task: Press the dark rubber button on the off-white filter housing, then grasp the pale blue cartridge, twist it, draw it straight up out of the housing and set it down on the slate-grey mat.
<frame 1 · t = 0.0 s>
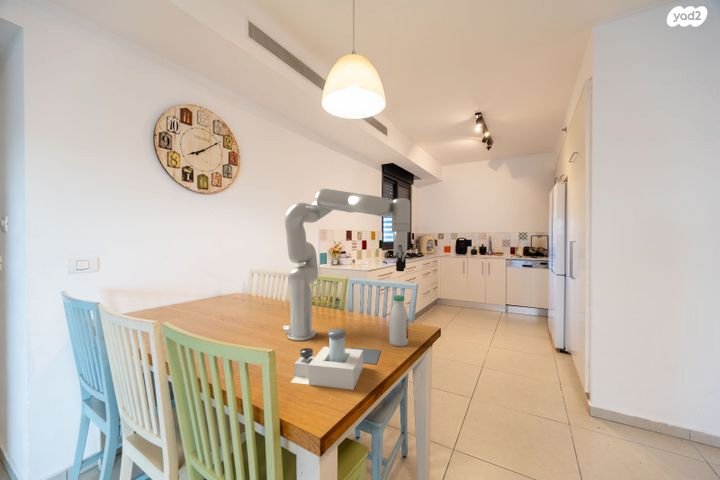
hand: (401, 269, 120), 31 cm above the table, tool pointing down, fingers open, 9 cm apart
cartridge: (337, 375, 92), point 1 cm above the table, touching housing
milk bottle: (398, 343, 121), on the table
mat: (362, 358, 107), on the table
housing: (337, 378, 92), on the table
plunger: (306, 360, 94), point 5 cm above the table, slide at 1.2 cm
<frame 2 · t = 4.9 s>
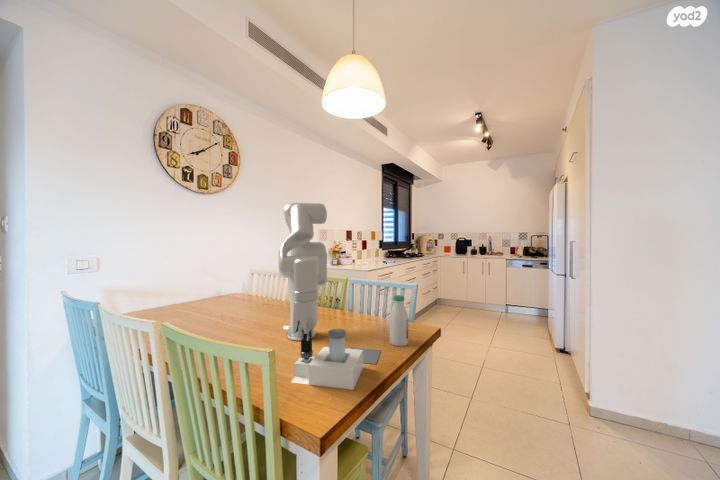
hand: (306, 351, 94), 8 cm above the table, tool pointing down, fingers closed
plunger: (306, 361, 94), point 5 cm above the table, slide at 1.5 cm, touching gripper
everything else where it was.
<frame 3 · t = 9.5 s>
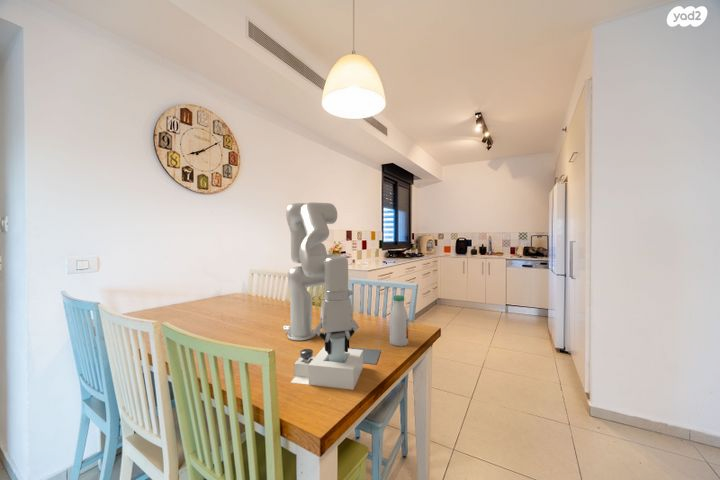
hand: (337, 351, 92), 9 cm above the table, tool pointing down, fingers closed on cartridge, 5 cm apart
cartridge: (337, 375, 92), point 1 cm above the table, touching gripper, housing
plunger: (306, 361, 94), point 5 cm above the table, slide at 1.5 cm
everything else where it was.
when the fingers open (11 cm above the table, at t = 16.0 s): cartridge drops 2 cm, resting on mat.
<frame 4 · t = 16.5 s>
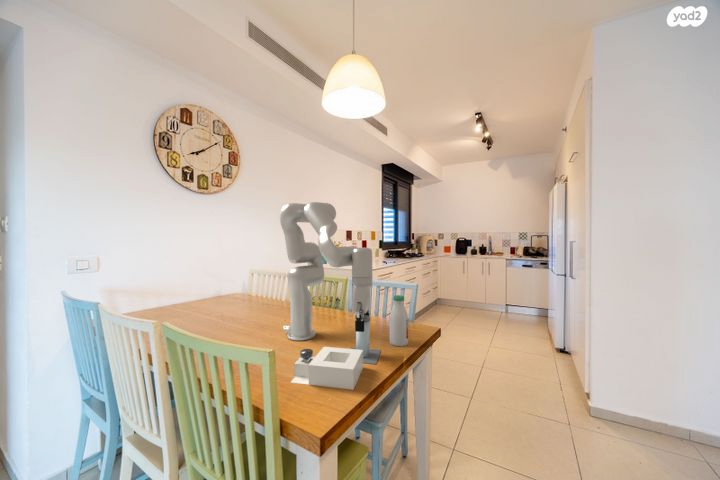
hand: (362, 326, 107), 12 cm above the table, tool pointing down, fingers open, 9 cm apart
cartridge: (362, 354, 107), point 1 cm above the table, touching mat
everything else where it was.
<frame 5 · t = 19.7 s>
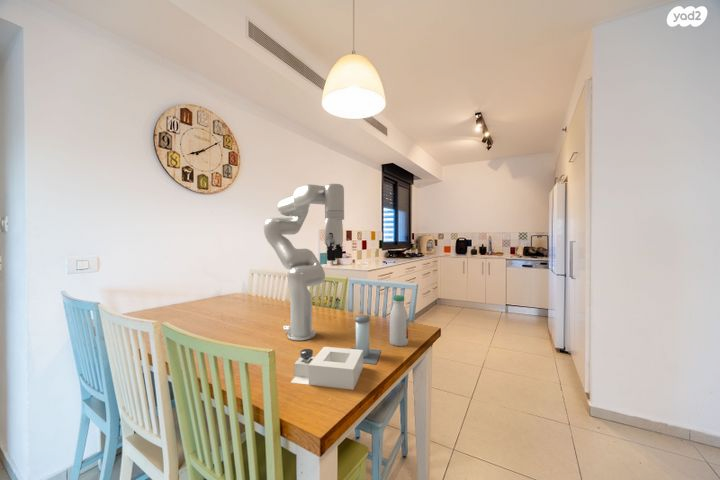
hand: (335, 259, 113), 36 cm above the table, tool pointing down, fingers open, 9 cm apart
nothing on the table moved.
at the end: cartridge inside the target area on the mat (0.0 cm from its centre), point 1.2 cm above the mat's base; cartridge tilted 1°; the gripper is holding nothing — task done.
